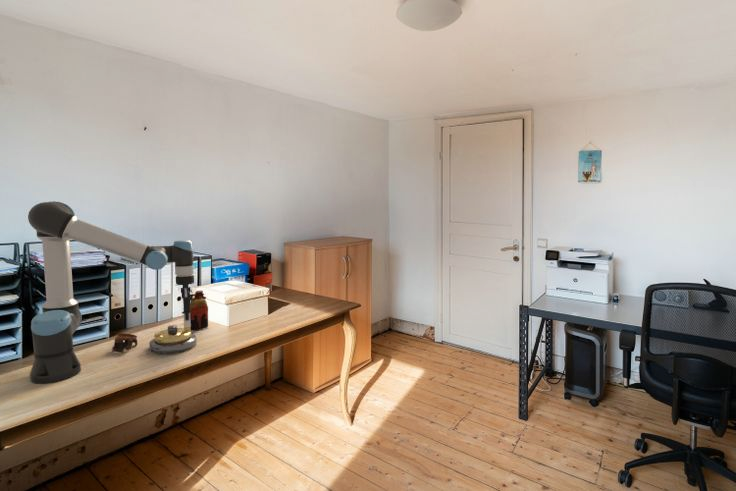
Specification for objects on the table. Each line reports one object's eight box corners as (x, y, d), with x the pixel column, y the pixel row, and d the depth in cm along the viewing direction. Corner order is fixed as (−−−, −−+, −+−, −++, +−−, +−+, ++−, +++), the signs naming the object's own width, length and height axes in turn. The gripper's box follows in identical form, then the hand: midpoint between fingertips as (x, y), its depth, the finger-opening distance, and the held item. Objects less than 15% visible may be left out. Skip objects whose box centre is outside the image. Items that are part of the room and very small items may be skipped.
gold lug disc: (155, 347, 172) (154, 327, 171) (153, 336, 185) (152, 318, 184) (193, 341, 179) (192, 322, 178) (189, 331, 192) (188, 313, 191)
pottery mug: (106, 351, 177) (112, 333, 180) (128, 355, 184) (134, 337, 187) (119, 351, 170) (125, 331, 173) (141, 354, 177) (147, 335, 180)
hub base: (161, 358, 169) (160, 337, 168) (142, 347, 181) (141, 327, 180) (204, 345, 184) (203, 326, 183) (184, 335, 196) (183, 317, 195)
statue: (206, 324, 214) (205, 287, 212) (209, 328, 208) (208, 290, 205) (181, 327, 207) (180, 289, 205) (184, 332, 201) (183, 292, 198)
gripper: (194, 276, 176) (197, 329, 179) (193, 272, 188) (195, 322, 190) (175, 278, 173) (178, 331, 175) (175, 273, 185) (178, 324, 187)
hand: (187, 326), depth 183 cm, fingers closed
